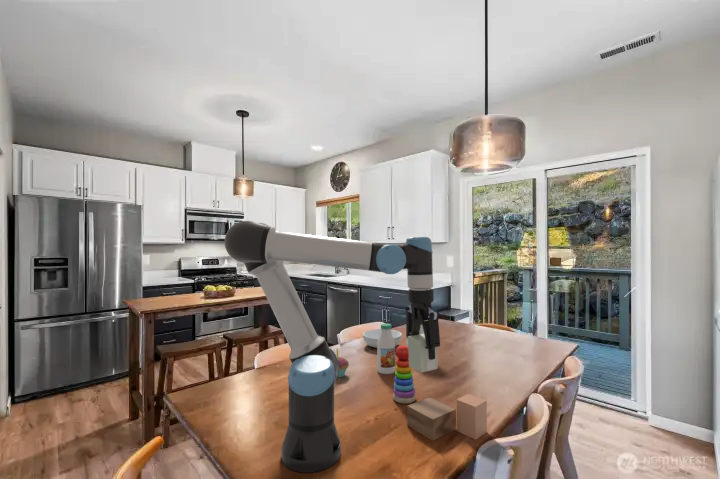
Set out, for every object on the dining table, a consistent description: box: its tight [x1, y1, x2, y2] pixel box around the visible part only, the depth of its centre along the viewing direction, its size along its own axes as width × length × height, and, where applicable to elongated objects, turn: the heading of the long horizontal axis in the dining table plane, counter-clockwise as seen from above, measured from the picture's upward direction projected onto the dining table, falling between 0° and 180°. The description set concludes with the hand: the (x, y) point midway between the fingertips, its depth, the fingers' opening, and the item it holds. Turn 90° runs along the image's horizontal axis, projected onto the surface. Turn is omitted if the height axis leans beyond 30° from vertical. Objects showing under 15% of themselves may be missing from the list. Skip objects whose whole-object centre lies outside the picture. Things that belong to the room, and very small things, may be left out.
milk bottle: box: [376, 323, 396, 375], centre depth 147 cm, size 8×8×20 cm
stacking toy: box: [392, 344, 417, 404], centre depth 120 cm, size 8×8×19 cm
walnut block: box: [406, 396, 457, 441], centre depth 102 cm, size 10×10×6 cm
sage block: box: [408, 334, 439, 373], centre depth 102 cm, size 6×6×9 cm
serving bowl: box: [362, 328, 403, 349], centre depth 184 cm, size 21×21×7 cm
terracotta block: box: [456, 393, 488, 440], centre depth 99 cm, size 6×6×9 cm
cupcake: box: [336, 348, 350, 378], centre depth 143 cm, size 9×8×12 cm
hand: (423, 366), depth 102 cm, fingers closed on sage block, 6 cm apart
